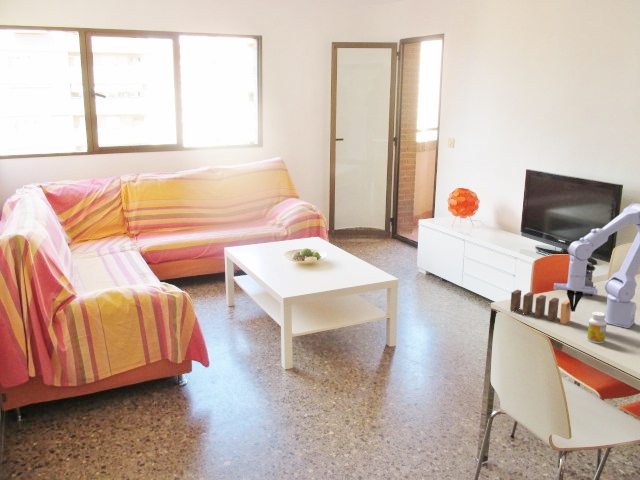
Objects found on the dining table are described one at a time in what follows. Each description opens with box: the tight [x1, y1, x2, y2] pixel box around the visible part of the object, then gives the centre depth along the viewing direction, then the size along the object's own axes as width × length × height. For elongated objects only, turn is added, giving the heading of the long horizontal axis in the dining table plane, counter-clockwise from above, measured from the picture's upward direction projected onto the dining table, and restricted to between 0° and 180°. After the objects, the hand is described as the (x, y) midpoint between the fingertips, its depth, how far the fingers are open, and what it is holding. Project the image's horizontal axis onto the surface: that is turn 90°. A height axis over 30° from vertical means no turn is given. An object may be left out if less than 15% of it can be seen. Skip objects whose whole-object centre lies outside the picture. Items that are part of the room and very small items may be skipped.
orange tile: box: [559, 299, 572, 325], centre depth 220 cm, size 2×5×8 cm, turn 139°
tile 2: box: [546, 297, 560, 322], centre depth 223 cm, size 2×5×8 cm, turn 139°
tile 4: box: [521, 291, 535, 315], centre depth 229 cm, size 2×5×8 cm, turn 139°
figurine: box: [585, 260, 597, 297], centre depth 250 cm, size 9×12×15 cm
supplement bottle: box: [586, 311, 607, 344], centre depth 203 cm, size 5×5×10 cm
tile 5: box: [509, 289, 522, 312], centre depth 232 cm, size 2×5×8 cm, turn 139°
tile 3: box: [534, 294, 547, 319], centre depth 226 cm, size 2×5×8 cm, turn 139°
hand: (573, 310), depth 218 cm, fingers closed
